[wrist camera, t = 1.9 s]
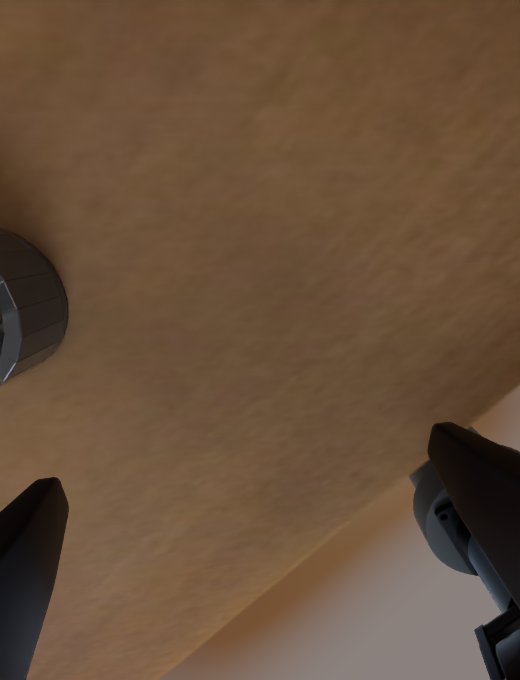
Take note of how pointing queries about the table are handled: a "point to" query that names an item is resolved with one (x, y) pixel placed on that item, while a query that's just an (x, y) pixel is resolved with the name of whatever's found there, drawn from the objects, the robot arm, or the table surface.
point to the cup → (28, 307)
